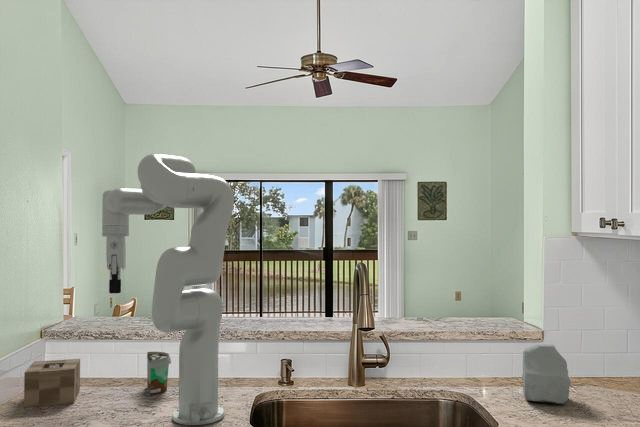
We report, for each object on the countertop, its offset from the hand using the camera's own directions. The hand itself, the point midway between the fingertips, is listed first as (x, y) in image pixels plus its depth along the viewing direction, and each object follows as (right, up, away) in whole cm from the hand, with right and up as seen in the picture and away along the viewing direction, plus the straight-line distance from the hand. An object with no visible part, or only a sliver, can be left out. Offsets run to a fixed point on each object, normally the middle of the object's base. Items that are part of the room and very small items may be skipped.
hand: (115, 292), depth 167 cm
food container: (+15, -27, -6) cm, 32 cm away
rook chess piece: (-11, -26, -14) cm, 32 cm away
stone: (+123, -27, -14) cm, 127 cm away
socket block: (-12, -27, -14) cm, 33 cm away
